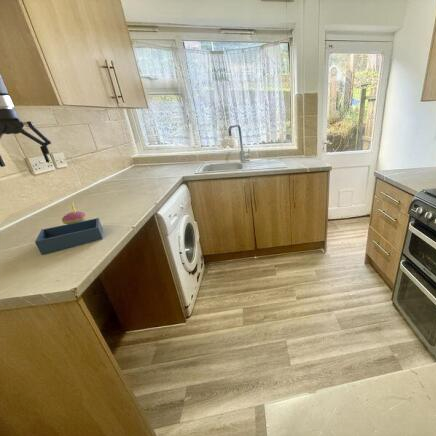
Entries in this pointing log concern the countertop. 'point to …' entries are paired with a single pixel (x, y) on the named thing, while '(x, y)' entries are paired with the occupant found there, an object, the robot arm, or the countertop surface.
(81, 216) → the cupcake
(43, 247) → the bin
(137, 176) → the countertop surface
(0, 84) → the robot arm
